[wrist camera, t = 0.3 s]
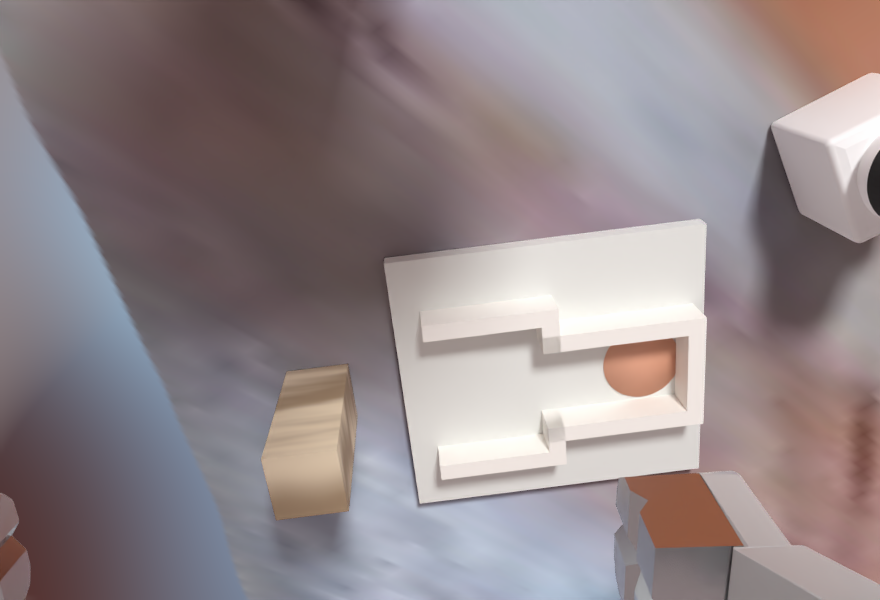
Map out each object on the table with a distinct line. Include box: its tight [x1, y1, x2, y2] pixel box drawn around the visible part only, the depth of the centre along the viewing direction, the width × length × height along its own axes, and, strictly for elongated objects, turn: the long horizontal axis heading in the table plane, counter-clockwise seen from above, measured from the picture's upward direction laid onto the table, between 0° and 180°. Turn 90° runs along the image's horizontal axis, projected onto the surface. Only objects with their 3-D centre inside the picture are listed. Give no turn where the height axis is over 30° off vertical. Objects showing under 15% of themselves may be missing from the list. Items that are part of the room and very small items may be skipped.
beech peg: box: [261, 364, 357, 520], centre depth 49 cm, size 4×4×11 cm
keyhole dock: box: [384, 219, 707, 504], centre depth 52 cm, size 20×22×4 cm
